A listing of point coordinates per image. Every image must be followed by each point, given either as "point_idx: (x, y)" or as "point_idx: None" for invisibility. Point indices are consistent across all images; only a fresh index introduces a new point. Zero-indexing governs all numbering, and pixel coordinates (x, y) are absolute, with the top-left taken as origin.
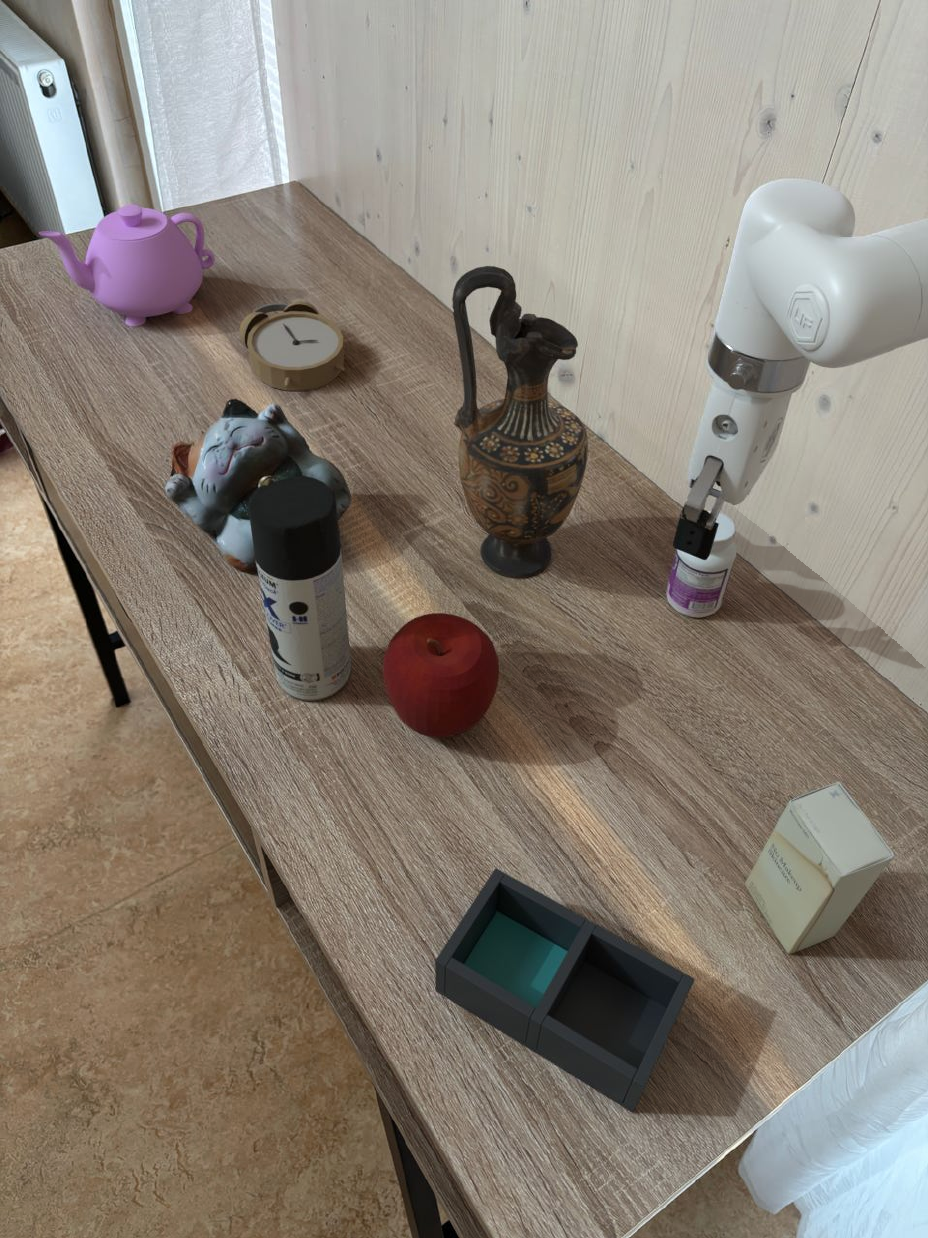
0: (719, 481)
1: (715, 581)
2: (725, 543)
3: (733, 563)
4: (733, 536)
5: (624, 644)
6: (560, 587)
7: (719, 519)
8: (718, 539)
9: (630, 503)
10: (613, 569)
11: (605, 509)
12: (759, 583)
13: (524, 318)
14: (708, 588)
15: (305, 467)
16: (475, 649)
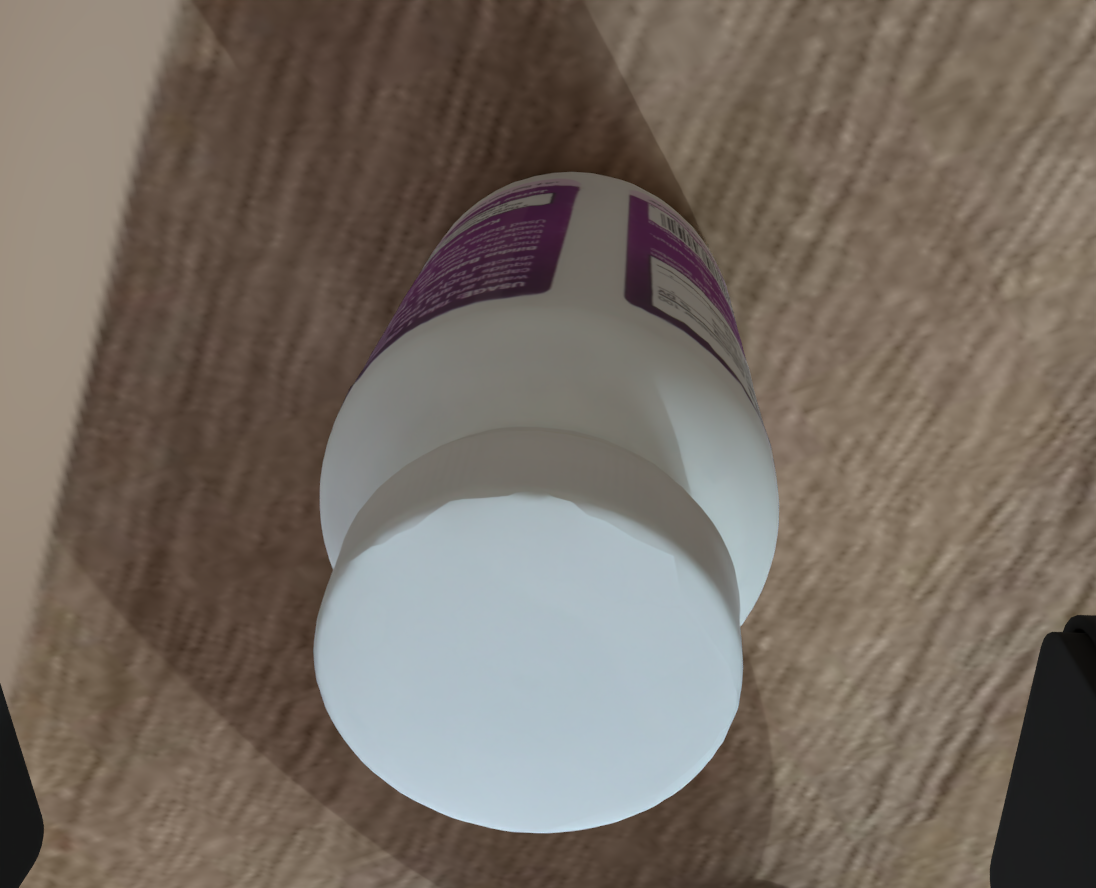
0: (15, 864)
1: (707, 316)
2: (642, 494)
3: (537, 283)
4: (519, 469)
5: (1055, 487)
6: (824, 816)
7: (412, 661)
8: (688, 585)
9: (170, 769)
10: None
11: (277, 831)
12: (226, 39)
13: None
14: (724, 321)
15: None
16: None
